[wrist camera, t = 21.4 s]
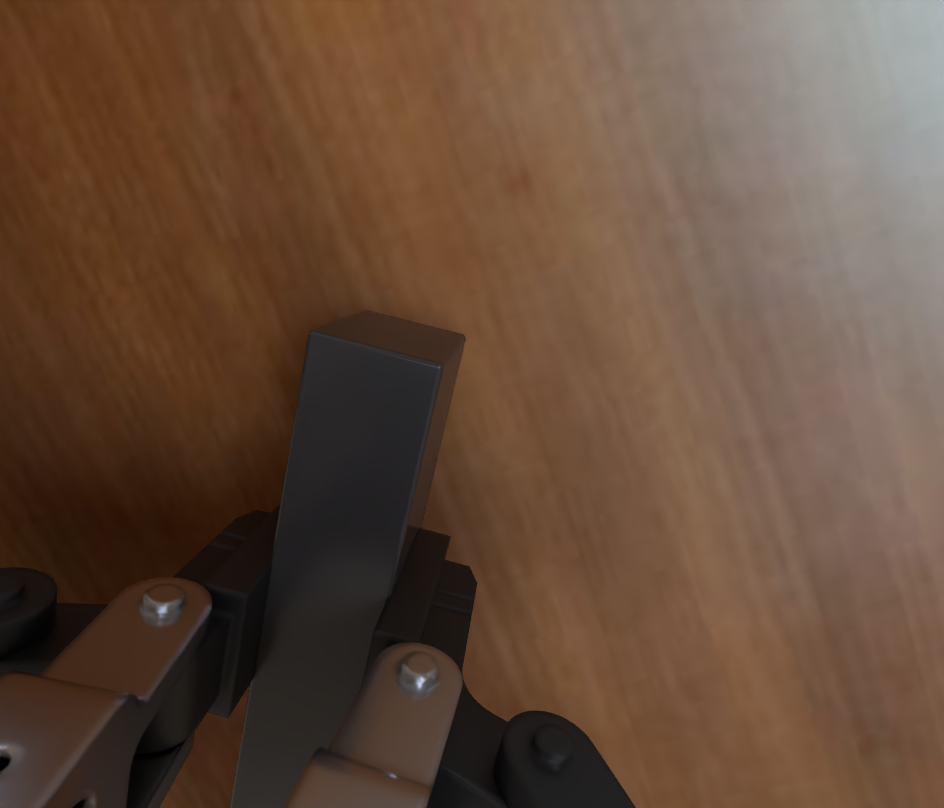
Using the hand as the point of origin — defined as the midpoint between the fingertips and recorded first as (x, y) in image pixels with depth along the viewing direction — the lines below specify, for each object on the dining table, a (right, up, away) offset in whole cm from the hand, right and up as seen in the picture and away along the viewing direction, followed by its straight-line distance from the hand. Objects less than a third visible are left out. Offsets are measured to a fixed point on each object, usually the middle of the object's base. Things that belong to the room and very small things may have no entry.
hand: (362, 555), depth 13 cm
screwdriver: (-1, -5, +2) cm, 5 cm away
